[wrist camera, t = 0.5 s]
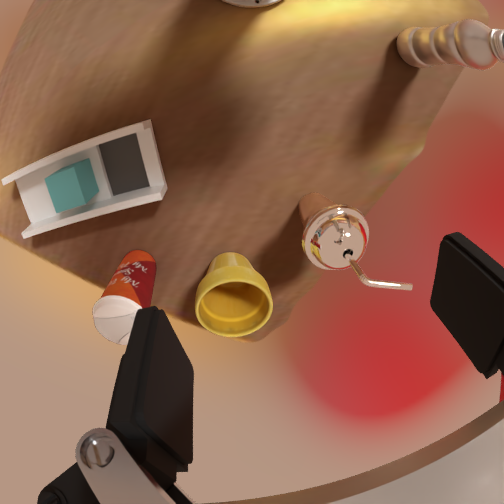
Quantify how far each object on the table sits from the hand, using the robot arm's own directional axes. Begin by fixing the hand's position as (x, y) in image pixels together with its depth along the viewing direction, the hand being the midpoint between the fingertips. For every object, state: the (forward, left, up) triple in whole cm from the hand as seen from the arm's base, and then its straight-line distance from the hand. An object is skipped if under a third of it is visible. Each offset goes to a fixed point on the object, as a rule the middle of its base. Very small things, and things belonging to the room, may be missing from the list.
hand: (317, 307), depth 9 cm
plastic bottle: (-13, +27, -33) cm, 44 cm away
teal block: (-1, -23, -31) cm, 39 cm away
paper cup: (+15, -19, -33) cm, 41 cm away
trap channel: (-1, -23, -33) cm, 40 cm away
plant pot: (+19, -5, -33) cm, 39 cm away
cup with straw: (+11, +9, -33) cm, 36 cm away
